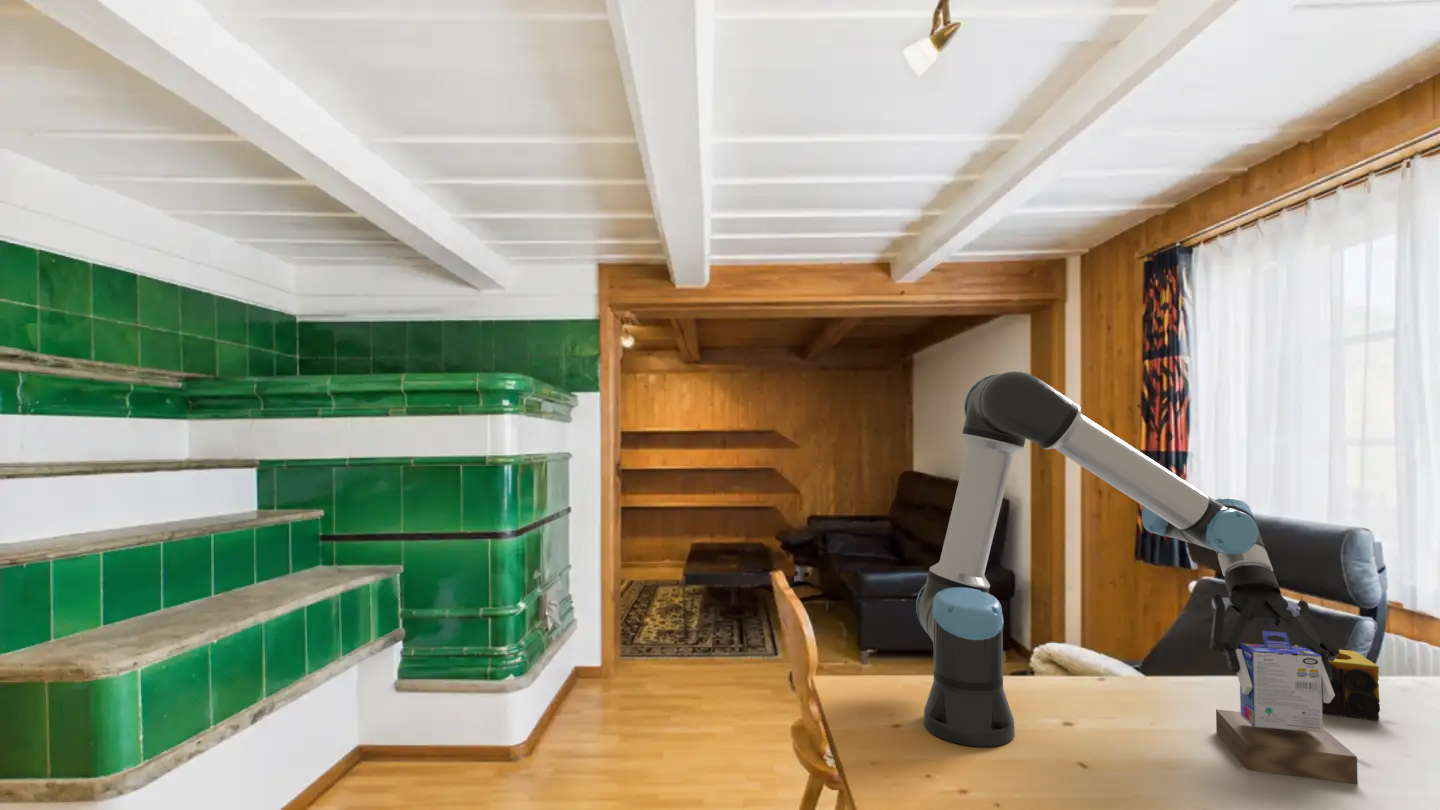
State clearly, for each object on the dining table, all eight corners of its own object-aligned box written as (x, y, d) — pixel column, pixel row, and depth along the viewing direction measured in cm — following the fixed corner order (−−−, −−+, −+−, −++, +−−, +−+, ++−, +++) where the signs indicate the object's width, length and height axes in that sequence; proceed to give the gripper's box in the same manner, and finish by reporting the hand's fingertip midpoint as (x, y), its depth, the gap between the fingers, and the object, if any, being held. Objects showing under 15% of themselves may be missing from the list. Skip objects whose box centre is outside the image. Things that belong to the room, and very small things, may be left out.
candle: (1312, 713, 133) (1311, 659, 133) (1292, 694, 142) (1291, 644, 142) (1382, 722, 129) (1380, 666, 129) (1356, 702, 138) (1355, 650, 139)
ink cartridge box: (1304, 719, 118) (1304, 631, 118) (1325, 734, 112) (1325, 641, 112) (1237, 714, 120) (1236, 627, 120) (1254, 728, 114) (1254, 637, 114)
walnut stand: (1246, 769, 111) (1246, 743, 111) (1216, 732, 125) (1216, 709, 125) (1357, 783, 107) (1357, 756, 107) (1313, 743, 120) (1313, 719, 120)
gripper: (1318, 591, 127) (1367, 714, 112) (1172, 582, 134) (1199, 696, 119) (1332, 567, 122) (1385, 692, 107) (1179, 558, 130) (1209, 675, 114)
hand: (1287, 694), depth 113 cm, fingers open, 10 cm apart
